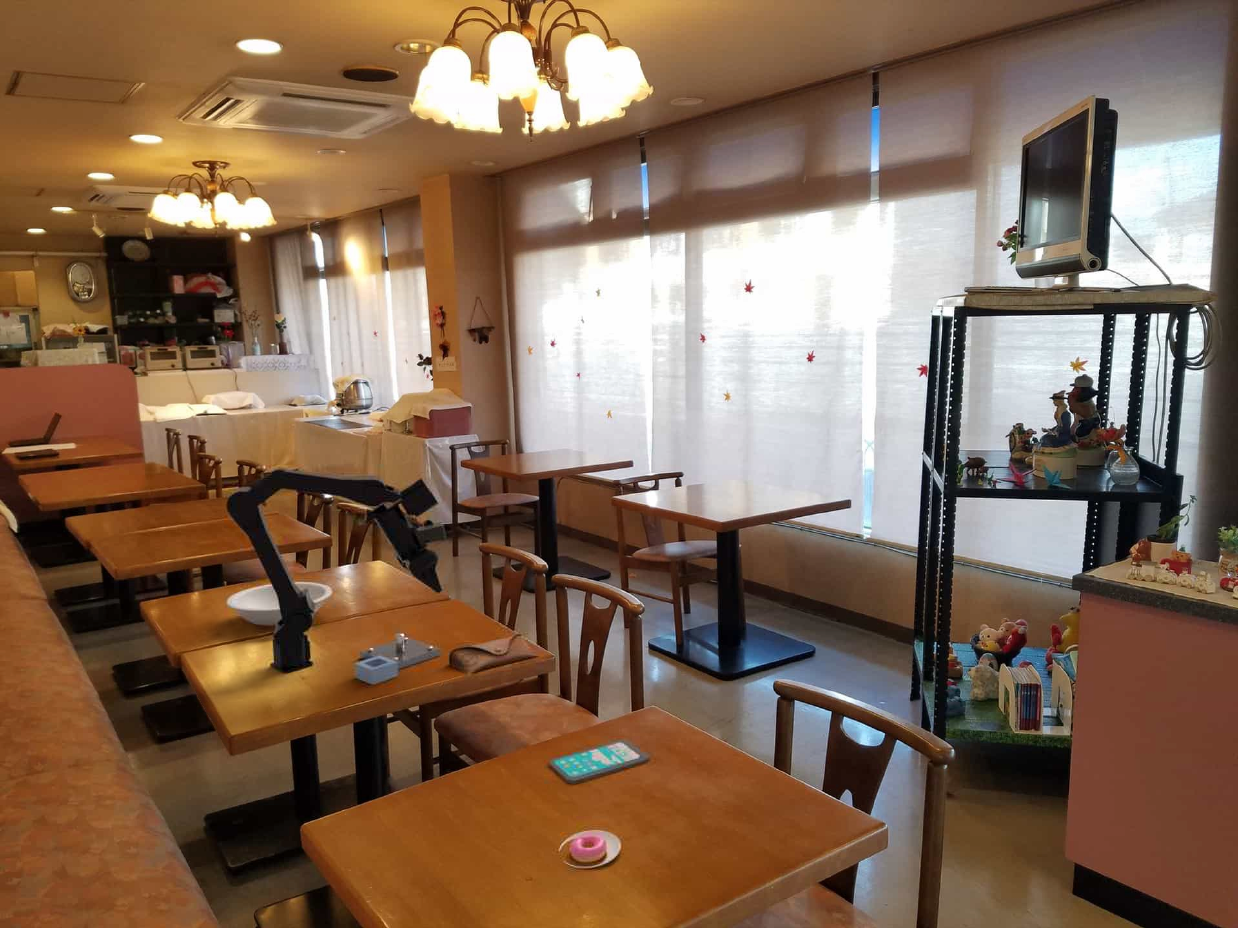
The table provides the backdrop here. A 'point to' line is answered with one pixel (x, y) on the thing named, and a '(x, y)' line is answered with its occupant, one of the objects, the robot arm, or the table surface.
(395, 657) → the keeper plate
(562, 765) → the smartphone
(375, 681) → the blue square ring
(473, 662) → the sunglasses case
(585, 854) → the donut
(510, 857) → the table surface
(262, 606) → the soup bowl
